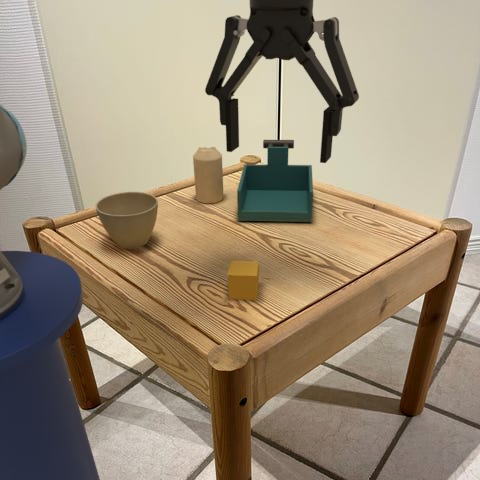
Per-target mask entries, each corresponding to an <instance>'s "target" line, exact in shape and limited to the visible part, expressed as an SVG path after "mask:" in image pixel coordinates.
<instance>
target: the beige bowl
mask: <svg viewBox="0 0 480 480" xmlns="http://www.w3.org/2000/svg"><path fill="white" fill-rule="evenodd" d="M158 210H159V200H158V198H157V197H156V196H155V195H153V194H150V193H148V192H143V191H124V192H123V191H121V192H116V193H113V194H112V193H111V194H109V195H106V196H104V197H102V198H100V199H99V200H98V201H97V202H96V203H95V211H96V214H97V216H98V219H99V221H100V223H101V225H102V226H103V228H104V230H105V231H106V233H107V234H108V236H109V237H110V238H111V239H112V241H113V242H114V243H115V244H116V245H117V246H118V247H119V248H121V249H127V250H133V249H134V250H135V249H139V248H142V247H144V246H146V245H147V243H148V241H149V240H150V238H151V236H152V235H153V232H154V228H155V225H156V221H157V217H158Z"/></svg>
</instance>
